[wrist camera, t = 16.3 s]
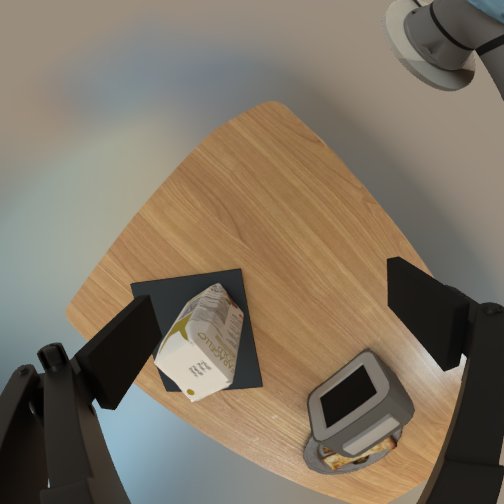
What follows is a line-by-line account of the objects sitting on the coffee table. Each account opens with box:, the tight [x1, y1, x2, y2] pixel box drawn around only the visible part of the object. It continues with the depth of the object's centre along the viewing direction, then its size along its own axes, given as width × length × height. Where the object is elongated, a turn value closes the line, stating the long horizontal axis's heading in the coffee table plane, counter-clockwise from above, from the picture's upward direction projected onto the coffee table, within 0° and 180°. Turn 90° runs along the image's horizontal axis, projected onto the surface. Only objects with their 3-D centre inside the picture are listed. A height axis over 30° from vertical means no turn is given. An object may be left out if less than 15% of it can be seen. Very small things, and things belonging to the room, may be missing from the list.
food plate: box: [304, 427, 403, 475], centre depth 54 cm, size 25×23×4 cm
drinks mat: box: [130, 269, 263, 392], centre depth 50 cm, size 24×20×1 cm
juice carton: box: [154, 283, 244, 402], centre depth 39 cm, size 8×9×19 cm
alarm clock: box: [307, 350, 415, 458], centre depth 44 cm, size 16×11×16 cm
